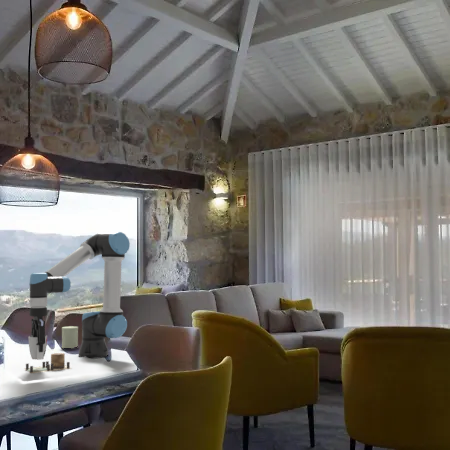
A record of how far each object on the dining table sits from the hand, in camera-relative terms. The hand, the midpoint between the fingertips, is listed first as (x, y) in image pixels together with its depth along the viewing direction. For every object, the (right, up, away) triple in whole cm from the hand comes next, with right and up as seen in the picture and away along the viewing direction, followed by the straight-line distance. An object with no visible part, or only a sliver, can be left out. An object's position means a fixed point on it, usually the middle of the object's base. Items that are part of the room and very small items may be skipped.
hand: (37, 357), depth 252 cm
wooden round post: (+8, -5, +5) cm, 10 cm away
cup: (0, 0, 0) cm, 0 cm away
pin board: (+4, -6, +2) cm, 8 cm away
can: (-5, -11, +70) cm, 71 cm away
